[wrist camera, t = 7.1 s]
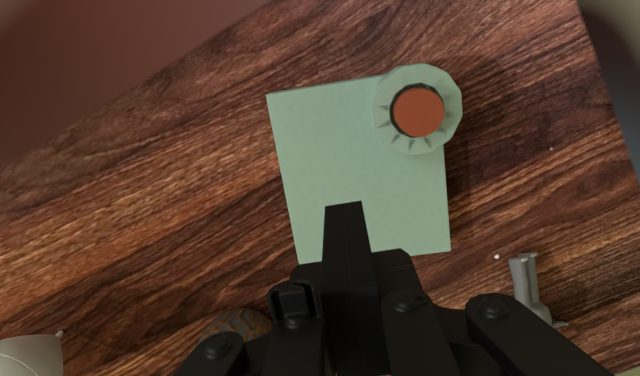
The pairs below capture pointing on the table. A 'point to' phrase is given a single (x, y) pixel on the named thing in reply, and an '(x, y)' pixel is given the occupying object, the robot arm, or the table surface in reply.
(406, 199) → the green push button box
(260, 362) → the robot arm
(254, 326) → the vase
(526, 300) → the elephant figurine
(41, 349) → the spinning top
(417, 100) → the button
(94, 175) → the table surface
